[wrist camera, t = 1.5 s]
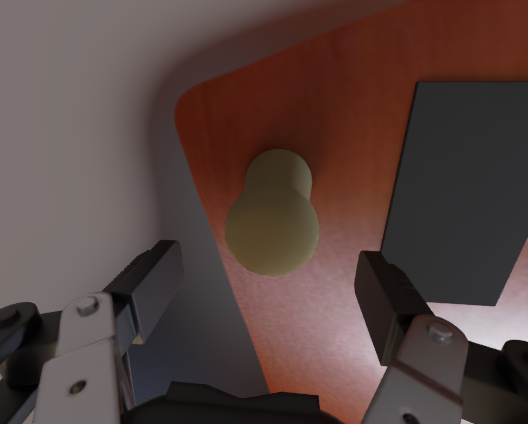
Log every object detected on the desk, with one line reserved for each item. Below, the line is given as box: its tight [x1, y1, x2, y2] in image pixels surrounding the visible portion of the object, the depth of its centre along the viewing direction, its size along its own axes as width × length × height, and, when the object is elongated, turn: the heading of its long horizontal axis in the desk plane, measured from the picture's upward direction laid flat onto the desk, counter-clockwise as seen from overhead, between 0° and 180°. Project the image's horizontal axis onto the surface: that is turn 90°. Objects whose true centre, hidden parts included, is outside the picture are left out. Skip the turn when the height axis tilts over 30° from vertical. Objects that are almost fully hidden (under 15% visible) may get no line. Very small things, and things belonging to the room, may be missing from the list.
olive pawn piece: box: [225, 149, 320, 276], centre depth 17 cm, size 6×6×11 cm
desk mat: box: [380, 82, 528, 306], centre depth 22 cm, size 20×12×1 cm, turn 0°
